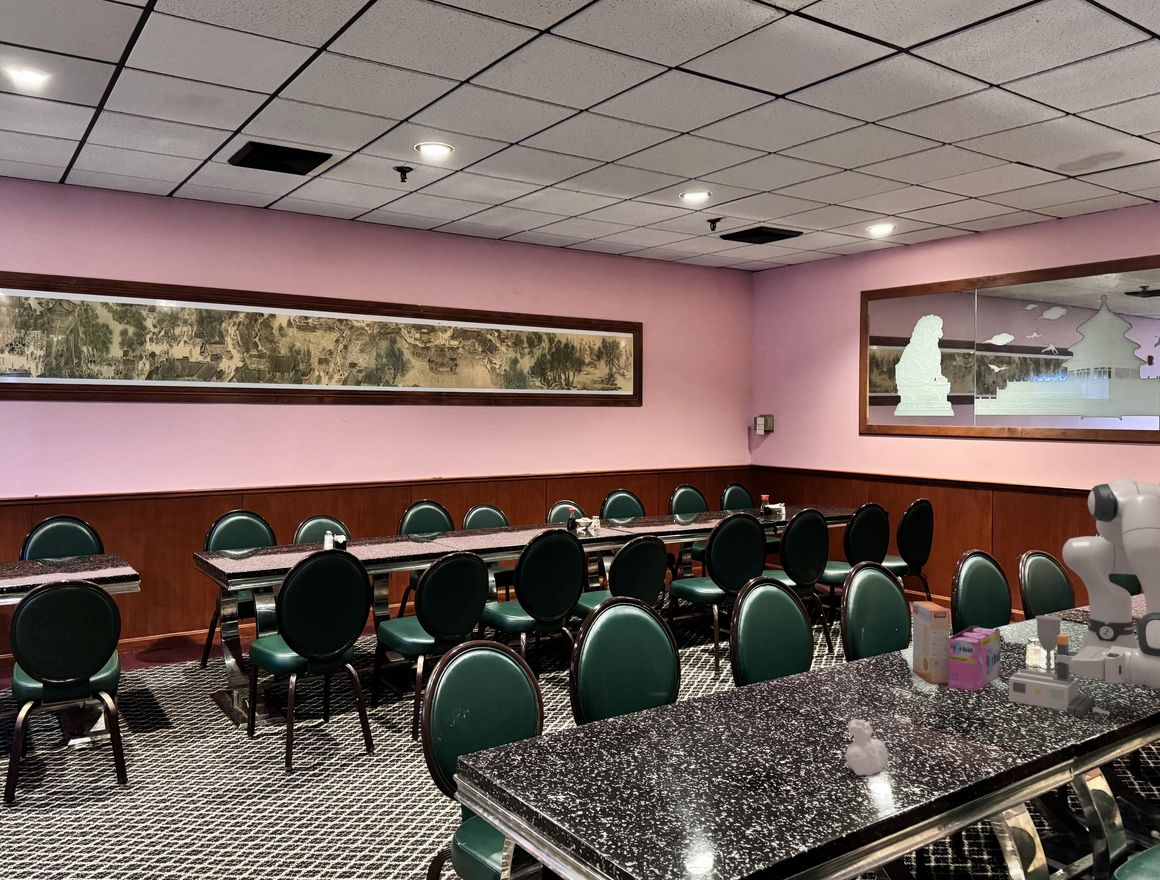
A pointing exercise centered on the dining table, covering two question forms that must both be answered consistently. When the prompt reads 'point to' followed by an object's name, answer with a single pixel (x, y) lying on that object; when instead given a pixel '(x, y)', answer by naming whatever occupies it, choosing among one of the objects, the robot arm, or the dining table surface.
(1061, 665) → the breaker lever
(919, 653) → the cracker box
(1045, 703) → the box
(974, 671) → the gum box
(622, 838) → the dining table surface
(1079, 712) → the dark grey grooved bar
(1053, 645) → the chalice
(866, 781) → the dining table surface
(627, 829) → the dining table surface
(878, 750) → the bust
